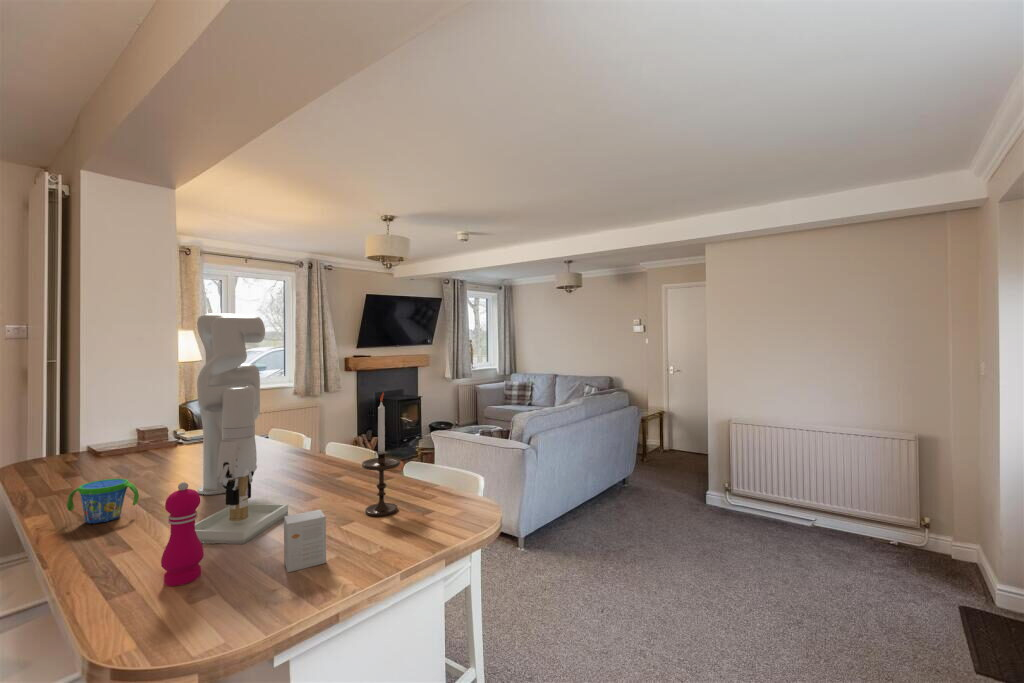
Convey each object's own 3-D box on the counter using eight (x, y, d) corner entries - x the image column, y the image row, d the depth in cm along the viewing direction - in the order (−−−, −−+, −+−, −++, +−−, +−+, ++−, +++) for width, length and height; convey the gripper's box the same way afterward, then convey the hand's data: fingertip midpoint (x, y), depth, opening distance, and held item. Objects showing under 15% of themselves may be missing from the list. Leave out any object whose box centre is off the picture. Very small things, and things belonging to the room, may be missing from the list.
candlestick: (408, 507, 139) (407, 390, 139) (383, 520, 129) (383, 393, 129) (379, 502, 143) (379, 389, 144) (353, 514, 133) (353, 392, 134)
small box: (321, 554, 108) (321, 508, 108) (326, 563, 103) (326, 516, 103) (283, 563, 104) (283, 515, 104) (286, 573, 99) (286, 523, 99)
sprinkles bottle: (249, 519, 123) (249, 469, 124) (229, 523, 121) (229, 471, 121) (247, 514, 127) (248, 465, 127) (228, 517, 125) (228, 467, 125)
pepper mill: (175, 571, 100) (175, 477, 100) (210, 569, 100) (211, 477, 101) (152, 588, 93) (152, 488, 93) (190, 586, 93) (190, 487, 94)
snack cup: (145, 510, 137) (146, 476, 137) (124, 524, 127) (125, 486, 127) (83, 515, 134) (83, 479, 134) (56, 529, 123) (56, 491, 124)
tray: (234, 513, 134) (234, 503, 134) (288, 514, 133) (288, 504, 133) (181, 542, 114) (181, 530, 114) (243, 544, 113) (243, 531, 113)
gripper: (245, 427, 133) (245, 491, 133) (202, 439, 116) (202, 512, 116) (270, 427, 132) (270, 491, 132) (231, 439, 116) (231, 513, 115)
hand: (238, 500), depth 124 cm, fingers closed on sprinkles bottle, 4 cm apart
